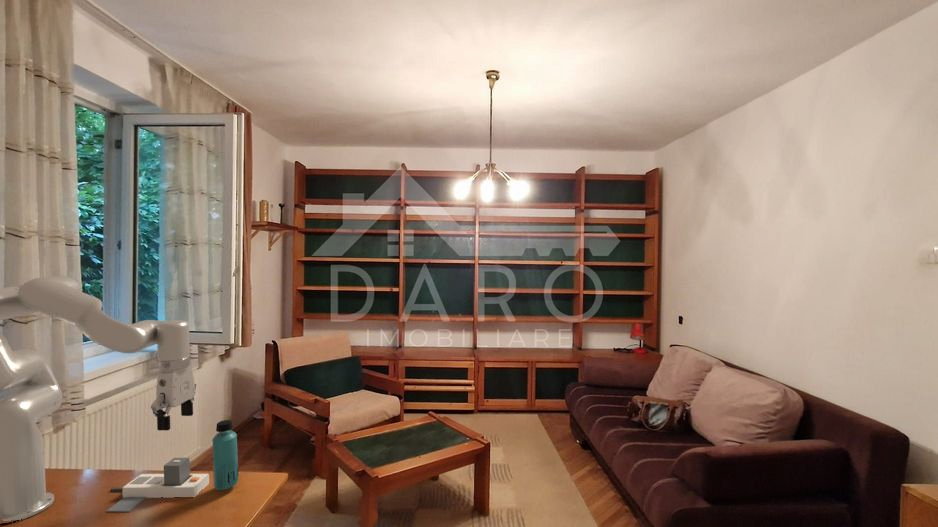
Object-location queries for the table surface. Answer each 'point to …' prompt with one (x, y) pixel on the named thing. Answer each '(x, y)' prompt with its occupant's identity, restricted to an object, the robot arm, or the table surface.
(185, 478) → the charger
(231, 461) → the beverage bottle
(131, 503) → the coaster
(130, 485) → the power strip
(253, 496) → the table surface
